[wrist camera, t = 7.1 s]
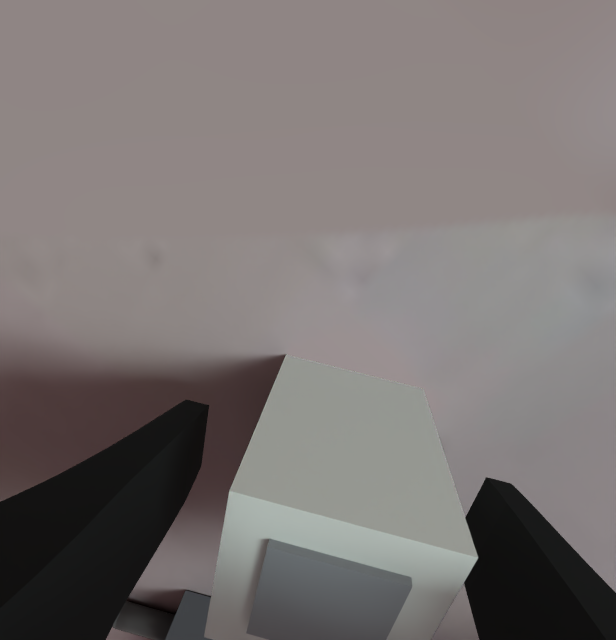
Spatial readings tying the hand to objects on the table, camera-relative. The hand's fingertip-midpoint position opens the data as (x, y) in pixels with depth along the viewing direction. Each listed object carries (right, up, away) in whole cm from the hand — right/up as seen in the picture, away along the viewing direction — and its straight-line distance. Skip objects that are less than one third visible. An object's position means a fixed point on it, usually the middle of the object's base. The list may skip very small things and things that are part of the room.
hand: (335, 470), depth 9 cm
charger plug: (0, +1, +2) cm, 2 cm away
